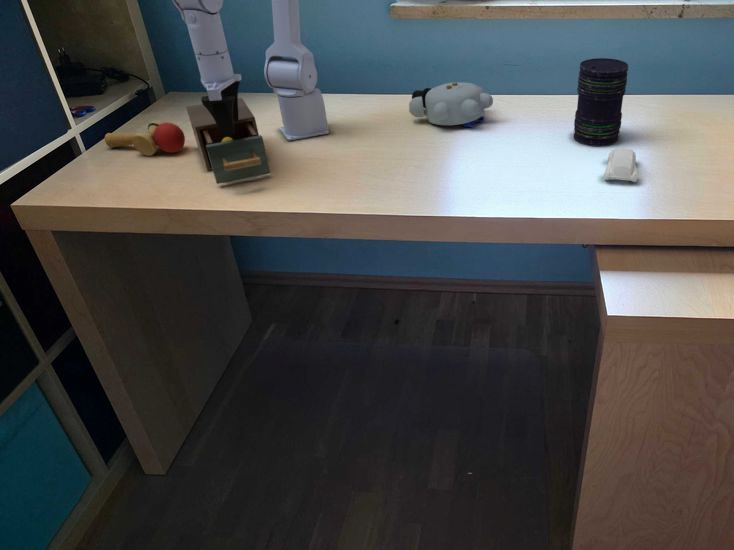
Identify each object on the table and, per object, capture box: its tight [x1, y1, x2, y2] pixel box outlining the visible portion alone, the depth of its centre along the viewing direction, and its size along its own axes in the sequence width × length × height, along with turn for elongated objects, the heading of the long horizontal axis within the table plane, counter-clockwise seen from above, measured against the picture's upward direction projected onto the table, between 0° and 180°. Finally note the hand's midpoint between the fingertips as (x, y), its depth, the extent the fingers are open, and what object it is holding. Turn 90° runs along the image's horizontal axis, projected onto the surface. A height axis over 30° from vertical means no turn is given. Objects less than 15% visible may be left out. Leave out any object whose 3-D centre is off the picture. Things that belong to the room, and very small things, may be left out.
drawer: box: [202, 122, 271, 185], centre depth 123 cm, size 17×10×7 cm, turn 26°
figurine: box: [408, 81, 494, 128], centre depth 146 cm, size 17×8×20 cm
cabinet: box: [185, 97, 260, 172], centre depth 131 cm, size 13×11×9 cm
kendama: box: [104, 120, 186, 157], centre depth 135 cm, size 8×6×18 cm
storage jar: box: [573, 57, 629, 147], centre depth 133 cm, size 10×10×15 cm
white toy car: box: [603, 147, 639, 183], centre depth 122 cm, size 12×6×5 cm, turn 168°
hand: (230, 127), depth 121 cm, fingers open, 7 cm apart
